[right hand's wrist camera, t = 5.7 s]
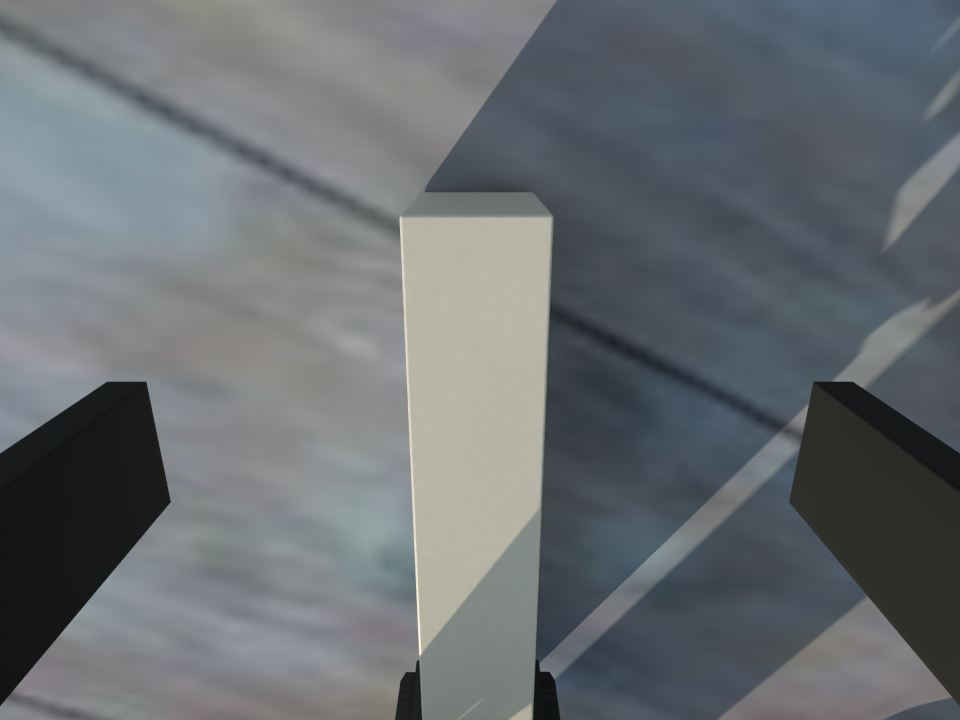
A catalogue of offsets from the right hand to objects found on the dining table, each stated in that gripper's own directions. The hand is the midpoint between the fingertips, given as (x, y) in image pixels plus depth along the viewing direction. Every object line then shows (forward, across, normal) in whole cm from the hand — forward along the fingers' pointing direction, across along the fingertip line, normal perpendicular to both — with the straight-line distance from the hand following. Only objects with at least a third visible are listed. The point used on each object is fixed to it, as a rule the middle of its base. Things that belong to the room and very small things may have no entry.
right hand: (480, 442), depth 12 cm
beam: (+14, 0, -9) cm, 17 cm away
